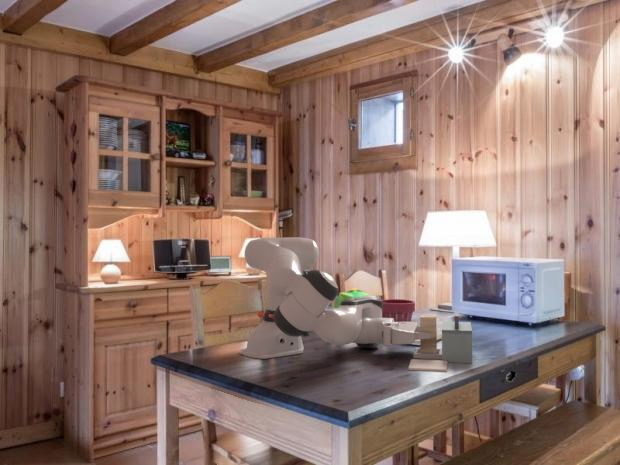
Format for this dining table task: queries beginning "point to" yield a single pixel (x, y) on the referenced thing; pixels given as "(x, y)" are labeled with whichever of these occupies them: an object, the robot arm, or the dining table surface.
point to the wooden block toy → (452, 343)
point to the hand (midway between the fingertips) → (430, 332)
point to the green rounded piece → (348, 296)
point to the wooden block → (430, 326)
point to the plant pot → (398, 309)
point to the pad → (428, 365)
